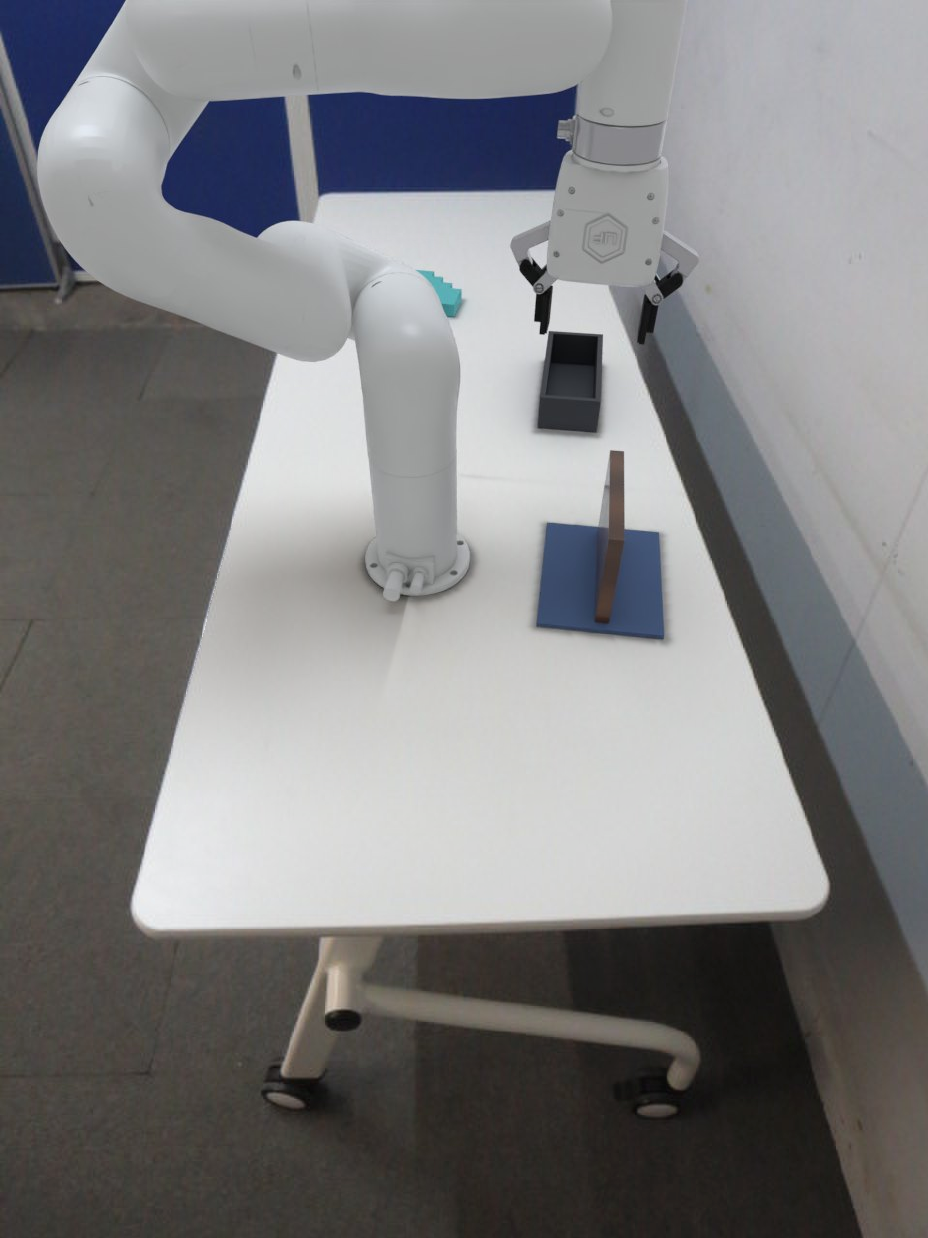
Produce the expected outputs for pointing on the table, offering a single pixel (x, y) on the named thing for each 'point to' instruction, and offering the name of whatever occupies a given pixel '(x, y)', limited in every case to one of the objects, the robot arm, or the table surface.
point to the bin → (571, 382)
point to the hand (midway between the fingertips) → (592, 333)
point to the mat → (575, 583)
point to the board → (610, 537)
